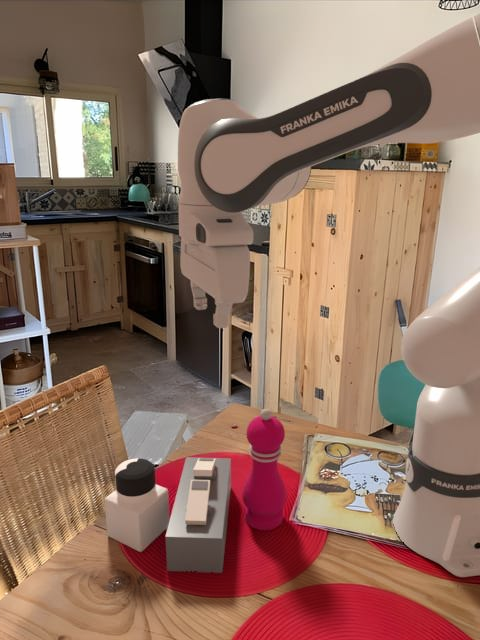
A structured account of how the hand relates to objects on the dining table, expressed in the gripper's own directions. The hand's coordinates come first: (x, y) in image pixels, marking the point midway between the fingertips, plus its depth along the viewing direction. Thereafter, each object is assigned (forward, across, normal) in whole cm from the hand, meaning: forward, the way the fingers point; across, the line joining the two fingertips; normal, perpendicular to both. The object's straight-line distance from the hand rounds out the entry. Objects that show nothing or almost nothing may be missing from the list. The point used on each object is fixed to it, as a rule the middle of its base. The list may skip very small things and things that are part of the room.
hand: (210, 317), depth 75 cm
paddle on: (+26, +8, -4) cm, 28 cm away
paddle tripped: (+26, -1, -1) cm, 26 cm away
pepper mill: (+34, +6, +8) cm, 36 cm away
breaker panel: (+34, +4, -2) cm, 34 cm away
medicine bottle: (+34, +1, -12) cm, 37 cm away
